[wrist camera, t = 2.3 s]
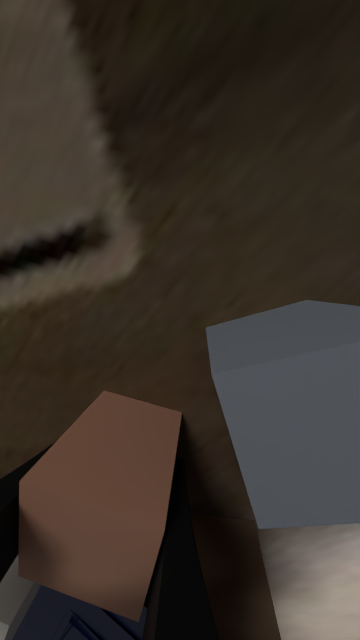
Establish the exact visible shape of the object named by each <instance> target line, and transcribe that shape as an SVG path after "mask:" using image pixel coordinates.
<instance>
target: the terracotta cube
mask: <svg viewBox="0 0 360 640" xmlns="http://www.w3.org/2000/svg"><path fill="white" fill-rule="evenodd" d="M181 416H182V412H178V411H175V410H171V409H168V408H164V407H161V406H157V405H154V404H150V403H147V402H143V401H140V400H136V399H132V398H129V397H125V396H122V395H118V394H115V393H111V392H108V391H103V392H102V393H101V394H100V395H99V397H98V398H97V399H96V400H95V401H94V402H93V403H92V404H91V405H90V406H89V407H88V408H87V409H86V410H85V411H84V413H83V414H82V415H81V416H80V417H79V418H78V419H77V420H76V421H75V422H74V423H73V424H72V425H71V426H70V428H69V429H68V430H67V431H66V432H65V433H64V434H63V435H62V436H61V437H60V438H59V439H58V440H57V441H56V443H55V444H54V445H53V446H52V447H51V448H50V449H49V450H48V451H47V452H46V453H45V454H44V455H43V456H42V457H41V459H40V460H39V461H38V462H37V463H36V464H35V465H34V466H33V467H32V468H31V469H30V470H29V471H28V472H27V474H26V475H25V476H24V477H23V478H22V479H21V480H20V481H19V551H18V576H20V577H22V578H25V579H27V580H30V581H33V582H35V583H38V584H40V585H43V586H46V587H48V588H51V589H53V590H56V591H59V592H61V593H64V594H66V595H69V596H72V597H74V598H77V599H79V600H82V601H85V602H87V603H90V604H92V605H95V606H98V607H100V608H103V609H105V610H108V611H110V612H113V613H116V614H118V615H121V616H123V617H126V618H129V619H131V620H134V621H136V622H139V619H140V616H141V612H142V609H143V605H144V602H145V598H146V594H147V591H148V587H149V584H150V580H151V577H152V573H153V570H154V566H155V563H156V559H157V556H158V552H159V548H160V545H161V541H162V538H163V534H164V531H165V524H166V518H167V511H168V504H169V497H170V491H171V484H172V477H173V470H174V464H175V457H176V450H177V443H178V437H179V430H180V423H181Z"/></svg>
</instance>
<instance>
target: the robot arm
mask: <svg viewBox="0 0 360 640" xmlns="http://www.w3.org/2000/svg"><path fill="white" fill-rule="evenodd" d="M55 443H56V442H55ZM55 443H53V444H52V445H50V446H49V447H48V448H46V449H45V450H43V451H42V452H40V453H39V454H38V455H36V456H35V457H33V458H32V459H30V460H29V461H27V462H26V463H24V464H23V465H21V466H20V467H18V468H17V469H15V470H14V471H12V472H11V473H9V474H8V475H6V476H5V477H3V478H1V479H0V583H1V581H2V579H3V578H4V576H5V575H6V573H7V571H8V570H9V568H10V567H11V565H12V563H13V562H14V560H15V559H16V557H17V555H18V551H19V481H20V480H21V479H22V478H23V477H24V476H25V475H26V474H27V472H28V471H29V470H30V469H31V468H32V467H33V466H34V465H35V464H36V463H37V462H38V461H39V460H40V459H41V457H42V456H43V455H44V454H45V453H46V452H47V451H48V450H49V449H50V448H51V447H52V446H53V445H54V444H55ZM142 640H219V637H218V633H217V630H216V626H215V623H214V619H213V615H212V611H211V607H210V603H209V599H208V595H207V591H206V587H205V583H204V579H203V575H202V570H201V566H200V562H199V557H198V552H197V547H196V542H195V537H194V532H193V527H192V521H191V515H190V509H189V502H188V495H187V487H186V477H185V461H184V459H182V458H179V457H175V464H174V470H173V477H172V484H171V491H170V497H169V504H168V511H167V518H166V524H165V531H164V534H163V538H162V541H161V545H160V548H159V552H158V556H157V559H156V563H155V566H154V570H153V573H152V580H151V587H150V594H149V601H148V607H147V613H146V619H145V625H144V630H143V636H142Z"/></svg>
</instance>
